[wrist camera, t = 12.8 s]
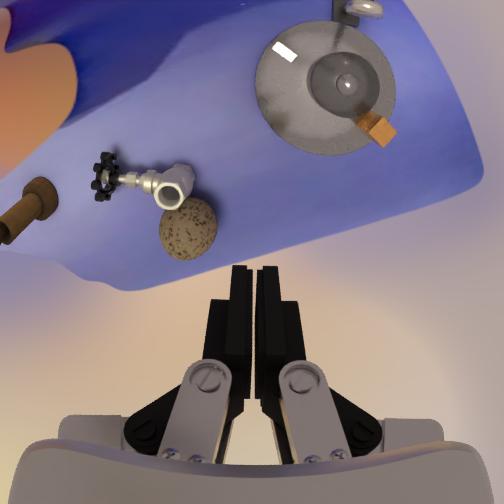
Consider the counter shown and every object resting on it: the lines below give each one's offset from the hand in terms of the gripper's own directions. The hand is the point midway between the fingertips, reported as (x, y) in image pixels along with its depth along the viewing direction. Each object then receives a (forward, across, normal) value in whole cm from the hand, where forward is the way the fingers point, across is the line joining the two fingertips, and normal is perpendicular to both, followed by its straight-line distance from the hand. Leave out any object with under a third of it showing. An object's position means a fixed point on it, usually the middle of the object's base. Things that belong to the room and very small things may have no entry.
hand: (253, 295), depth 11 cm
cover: (+24, -9, -8) cm, 27 cm away
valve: (+27, +13, +5) cm, 31 cm away
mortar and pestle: (+27, +33, +7) cm, 43 cm away
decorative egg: (+27, +8, +10) cm, 30 cm away
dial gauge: (+27, -10, -17) cm, 34 cm away
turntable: (+25, -8, -7) cm, 28 cm away
